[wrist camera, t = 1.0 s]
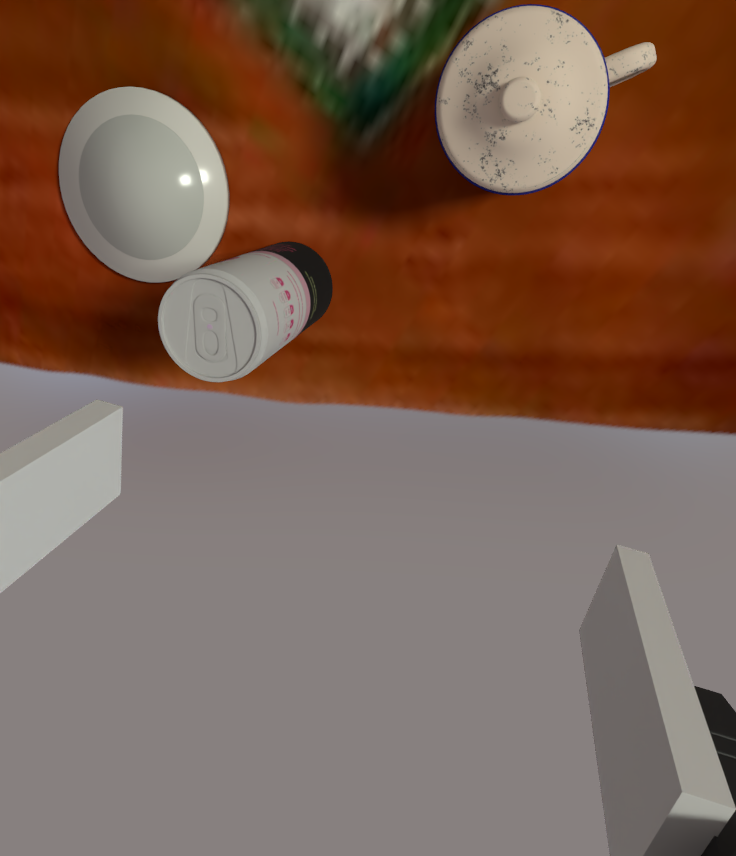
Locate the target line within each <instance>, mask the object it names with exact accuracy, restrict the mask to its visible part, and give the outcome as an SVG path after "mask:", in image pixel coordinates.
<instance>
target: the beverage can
mask: <svg viewBox="0 0 736 856" xmlns="http://www.w3.org/2000/svg"><path fill="white" fill-rule="evenodd" d="M331 297H332V279H331V275H330V272H329V269H328V267H327V265H326V264H325V262H324V261H323V259H322V258H321V257H320V256H319V255H318V254H317V253H316V252H315V251H314V250H312V249H311V248H309V247H307V246H305V245H303V244H300V243H296V242H281V243H277V244H274V245H271V246H268V247H265V248H262V249H259V250H256V251H253V252H249V253H246V254H243V255H240V256H237V257H234V258H231V259H228V260H225V261H221V262H218V263H215V264H212V265H209V266H206V267H203V268H200V269H197V270H194V271H191V272H188V273H186V274H184V275H183V276H181V277H180V278H179V279H177V280H176V281H175V282H174V283H173V285H172V286H171V287H170V288H169V289H168V290H167V292H166V293H165V295H164V296H163V298H162V301H161V303H160V307H159V312H158V327H159V332H160V336H161V339H162V342H163V345H164V347H165V349H166V350H167V352H168V354H169V355H170V357H171V358H172V359H173V360H174V361H175V363H176V364H177V365H178V366H179V367H181V368H182V369H183V370H184V371H186V372H187V373H189V374H190V375H192V376H194V377H196V378H199V379H201V380H205V381H210V382H224V381H230V380H235V379H238V378H241V377H243V376H245V375H247V374H248V373H250V372H251V371H252V370H254V369H255V368H256V367H258V366H259V365H260V364H261V363H263V362H264V361H265V360H267V359H268V358H269V357H270V356H272V355H273V354H274V353H276V352H277V351H278V350H279V349H281V348H282V347H283V346H285V345H286V344H287V343H289V342H290V341H291V340H292V339H294V338H295V337H296V336H298V335H299V334H300V333H301V332H303V331H304V330H305V329H307V328H308V327H309V326H311V325H312V324H313V323H314V322H316V321H317V320H318V319H319V318H321V317H322V315H323V314H324V313H325V312H326V310H327V308H328V306H329V304H330V301H331Z"/></svg>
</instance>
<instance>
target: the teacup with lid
mask: <svg viewBox="0 0 736 856" xmlns="http://www.w3.org/2000/svg"><path fill="white" fill-rule="evenodd" d="M656 58H657V57H656V51H655V47H654V45H653V44H652V43H649V42H645V43H641V44H638V45H635V46H632V47H630V48H627V49H624V50H622V51H620V52H617V53H615V54H612V55H610V56H608V57H606V58H604V56H603V53H602V51H601V48H600V47H599V45H598V43H597V41H596V40H595V38H594V37H593V35H592V34H591V33H590V31H589V30H588V29H587V28H586V27H585V26H584V25H583V24H582V23H581V22H580V21H578V20H577V19H576V18H574V17H573V16H571V15H570V14H568V13H566V12H564V11H562V10H559V9H557V8H553V7H550V6H545V5H535V4H528V5H519V6H513V7H510V8H506V9H503V10H501V11H498V12H496V13H494V14H492V15H490V16H488V17H486V18H485V19H483V20H482V21H480V22H479V23H478V24H476V25H475V26H474V27H473V28H472V29H470V30H469V31H468V32H467V33H466V34H465V35H464V37H463V38H462V39H461V40H460V41H459V42H458V44H457V45H456V47H455V48H454V49H453V51H452V53H451V54H450V56H449V58H448V59H447V61H446V64H445V66H444V68H443V70H442V73H441V76H440V79H439V83H438V86H437V92H436V98H435V123H436V129H437V133H438V137H439V141H440V143H441V146H442V148H443V151H444V153H445V155H446V156H447V158H448V160H449V161H450V163H451V164H452V165H453V167H454V168H455V169H456V170H457V171H458V172H459V174H461V175H462V176H463V177H464V178H465V179H466V180H468V181H469V182H470V183H472V184H474V185H475V186H477V187H479V188H481V189H483V190H486V191H489V192H492V193H496V194H501V195H523V194H529V193H534V192H537V191H540V190H543V189H545V188H548V187H550V186H552V185H554V184H555V183H557V182H559V181H560V180H562V179H563V178H565V177H566V176H567V175H569V174H570V173H571V172H572V171H573V170H574V169H575V168H577V167H578V166H579V165H580V163H581V162H582V161H583V160H584V159H585V158H586V156H587V155H588V153H589V152H590V151H591V149H592V148H593V146H594V144H595V143H596V141H597V139H598V137H599V135H600V132H601V130H602V127H603V125H604V121H605V118H606V114H607V110H608V104H609V88H610V87H611V86H614V85H616V84H618V83H621V82H623V81H625V80H627V79H630V78H632V77H634V76H636V75H638V74H640V73H642V72H644V71H646V70H648V69H649V68H651V67H652V66H653V65H654V64H655V62H656Z"/></svg>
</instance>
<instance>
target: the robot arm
mask: <svg viewBox="0 0 736 856" xmlns="http://www.w3.org/2000/svg"><path fill="white" fill-rule="evenodd" d="M122 419H123V407H122V406H118V405H115V404H111V403H108V402H104V401H100V400H95V401H93V402H92V403H90V404H88V405H86V406H84V407H83V408H81V409H79V410H77V411H76V412H74V413H72V414H70V415H68V416H66V417H65V418H63V419H61V420H59V421H57V422H56V423H54V424H52V425H50V426H48V427H46V428H45V429H43V430H41V431H39V432H37V433H36V434H34V435H32V436H30V437H28V438H27V439H25V440H23V441H21V442H19V443H18V444H16V445H14V446H12V447H10V448H9V449H7V450H5V451H3V452H1V453H0V593H1V592H2V591H4V590H5V589H6V588H7V587H8V586H10V585H11V584H12V583H13V582H14V581H16V580H17V579H18V578H19V577H20V576H22V575H23V574H24V573H25V572H27V571H28V570H29V569H30V568H31V567H32V566H34V565H35V564H36V563H37V562H39V561H40V560H41V559H42V558H44V557H45V556H46V555H47V554H48V553H49V552H51V551H52V550H53V549H54V548H56V547H57V546H58V545H59V544H61V543H62V542H63V541H64V540H65V539H67V538H68V537H69V536H70V535H71V534H73V533H74V532H75V531H76V530H77V529H79V528H80V527H81V526H82V525H83V524H85V523H86V522H87V521H88V520H89V519H91V518H92V517H93V516H94V515H96V514H97V513H98V512H99V511H100V510H102V509H103V508H104V507H105V506H106V505H108V504H109V503H110V502H111V501H113V500H114V499H115V498H116V497H117V496H119V495H120V494H121V459H122V457H121V456H122ZM579 632H580V640H581V647H582V655H583V662H584V670H585V677H586V684H587V691H588V699H589V705H590V714H591V721H592V728H593V736H594V743H595V751H596V758H597V765H598V773H599V780H600V787H601V794H602V802H603V809H604V817H605V824H606V831H607V838H608V846H609V854H610V856H736V712H735V711H734V709H733V708H732V707H731V706H730V704H729V703H728V702H727V701H726V699H725V698H724V697H723V696H722V694H719V693H716V692H713V691H710V690H706V689H703V688H700V687H696V686H694V685H693V682H692V679H691V676H690V673H689V670H688V667H687V664H686V661H685V658H684V656H683V653H682V650H681V647H680V644H679V641H678V638H677V635H676V632H675V629H674V627H673V623H672V620H671V618H670V615H669V612H668V609H667V606H666V603H665V600H664V597H663V594H662V591H661V588H660V585H659V583H658V580H657V577H656V574H655V571H654V568H653V565H652V562H651V559H650V556H649V554H648V553H645V552H641V551H638V550H634V549H630V548H627V547H623V546H620V545H616V547H615V550H614V552H613V554H612V556H611V559H610V561H609V563H608V566H607V568H606V570H605V572H604V575H603V577H602V579H601V582H600V584H599V586H598V588H597V591H596V593H595V595H594V598H593V600H592V602H591V605H590V607H589V609H588V611H587V614H586V616H585V618H584V620H583V623H582V625H581V628H580V630H579Z"/></svg>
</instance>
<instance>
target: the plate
mask: <svg viewBox="0 0 736 856" xmlns="http://www.w3.org/2000/svg"><path fill="white" fill-rule="evenodd" d="M59 182H60V189H61V194H62V199H63V202H64V205H65V208H66V211H67V214H68V216H69V218H70V221H71V223H72V225H73V227H74V228H75V230H76V232H77V234H78V235H79V237H80V238H81V239H82V241H83V242H84V244H85V245H86V246H87V247H88V248H89V250H90V251H91V252H92V253H93V254H94V255H95V256H96V257H97V258H98V259H99V260H100V261H102V262H103V263H104V264H106V265H107V266H108V267H110V268H111V269H113V270H115V271H116V272H118V273H120V274H122V275H124V276H126V277H129V278H132V279H135V280H138V281H144V282H157V283H160V282H168V281H172V280H176V279H179V278H180V277H181V276H183V275H184V274H186V273H188V272H191V271H194V270H197V269H198V268H200V267H201V266H202V265H203V264H204V263H205V262H206V261H208V260H209V258H210V257H211V256H212V254H213V253H214V252H215V250H216V249H217V247H218V245H219V243H220V241H221V239H222V236H223V234H224V232H225V228H226V224H227V220H228V213H229V185H228V179H227V174H226V170H225V166H224V163H223V160H222V157H221V155H220V152H219V150H218V148H217V146H216V144H215V142H214V140H213V139H212V137H211V135H210V134H209V132H208V131H207V129H206V128H205V127H204V126H203V124H202V123H201V122H200V120H199V119H198V118H197V117H196V116H195V115H194V114H193V113H192V112H191V111H190V110H188V109H187V108H186V107H184V106H183V105H182V104H181V103H179V102H178V101H176V100H174V99H173V98H171V97H169V96H167V95H164V94H162V93H160V92H157V91H153V90H149V89H145V88H139V87H119V88H114V89H110V90H107V91H105V92H102V93H100V94H98V95H96V96H95V97H93V98H92V99H90V100H89V101H88V102H86V103H85V104H84V105H83V106H82V107H81V108H80V109H79V110H78V112H77V113H76V114H75V115H74V117H73V119H72V120H71V122H70V124H69V125H68V128H67V130H66V132H65V135H64V138H63V141H62V145H61V149H60V157H59Z"/></svg>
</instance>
